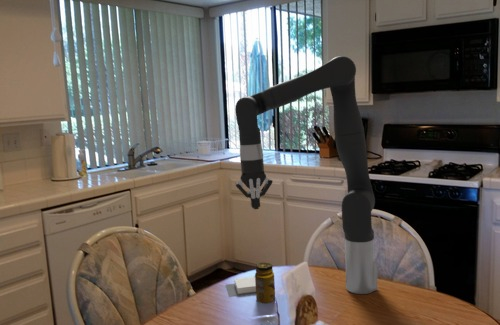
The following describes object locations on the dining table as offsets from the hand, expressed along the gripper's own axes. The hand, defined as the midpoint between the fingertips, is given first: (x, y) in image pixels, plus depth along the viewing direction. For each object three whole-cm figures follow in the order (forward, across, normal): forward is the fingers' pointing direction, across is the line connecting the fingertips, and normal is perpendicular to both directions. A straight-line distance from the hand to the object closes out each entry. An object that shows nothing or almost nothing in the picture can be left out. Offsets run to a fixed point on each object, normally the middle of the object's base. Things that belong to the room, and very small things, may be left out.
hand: (255, 208), depth 155 cm
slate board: (+27, +6, +2) cm, 28 cm away
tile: (+25, +9, +2) cm, 27 cm away
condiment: (+28, +2, +12) cm, 30 cm away
